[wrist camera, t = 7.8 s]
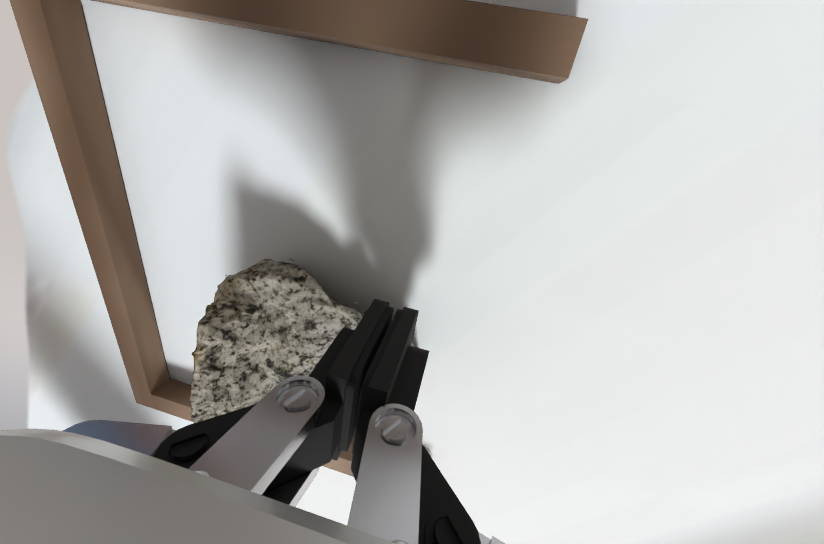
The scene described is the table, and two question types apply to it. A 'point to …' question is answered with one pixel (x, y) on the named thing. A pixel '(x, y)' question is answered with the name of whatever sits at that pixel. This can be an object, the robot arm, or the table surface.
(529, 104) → the table surface
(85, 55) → the frame
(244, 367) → the rock sample
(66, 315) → the table surface
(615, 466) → the table surface
